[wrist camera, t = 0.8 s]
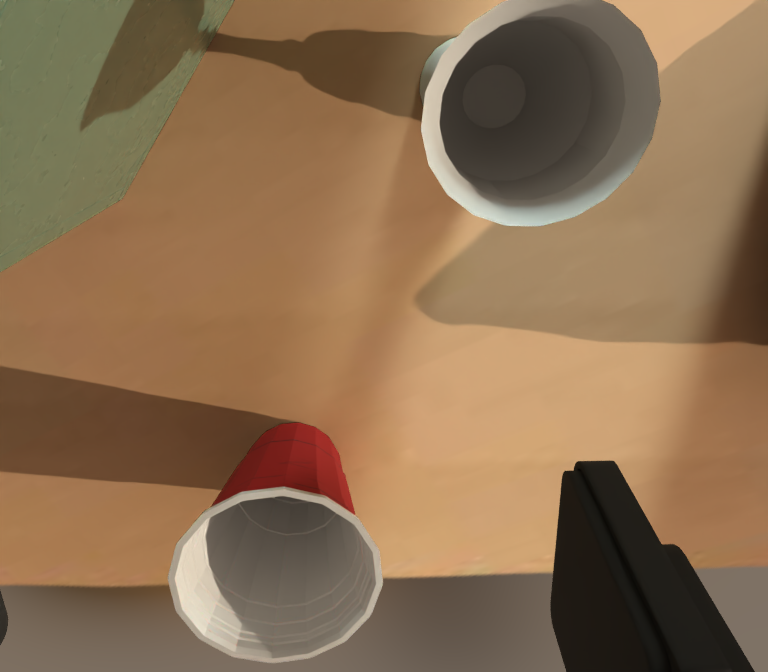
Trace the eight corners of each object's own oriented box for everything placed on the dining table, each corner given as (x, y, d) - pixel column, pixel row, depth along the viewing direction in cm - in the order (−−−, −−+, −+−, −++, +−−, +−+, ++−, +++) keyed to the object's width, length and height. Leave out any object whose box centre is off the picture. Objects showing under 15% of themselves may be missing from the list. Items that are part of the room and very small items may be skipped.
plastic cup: (400, 504, 48) (408, 641, 37) (250, 542, 49) (214, 686, 38) (353, 365, 44) (347, 472, 33) (191, 409, 45) (132, 527, 34)
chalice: (427, 172, 40) (468, 261, 23) (378, 53, 38) (384, 57, 21) (551, 117, 39) (686, 170, 22) (509, -9, 37) (624, -56, 20)
